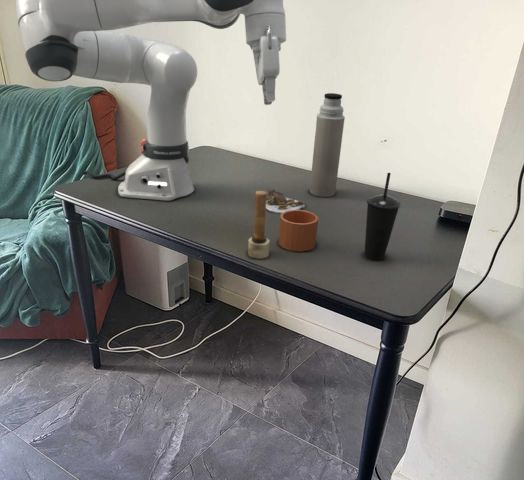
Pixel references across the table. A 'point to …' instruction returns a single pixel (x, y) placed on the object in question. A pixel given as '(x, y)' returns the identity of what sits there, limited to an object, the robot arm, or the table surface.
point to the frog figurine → (282, 202)
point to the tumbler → (298, 230)
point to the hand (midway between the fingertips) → (269, 103)
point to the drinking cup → (380, 223)
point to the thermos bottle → (327, 146)
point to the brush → (259, 229)
